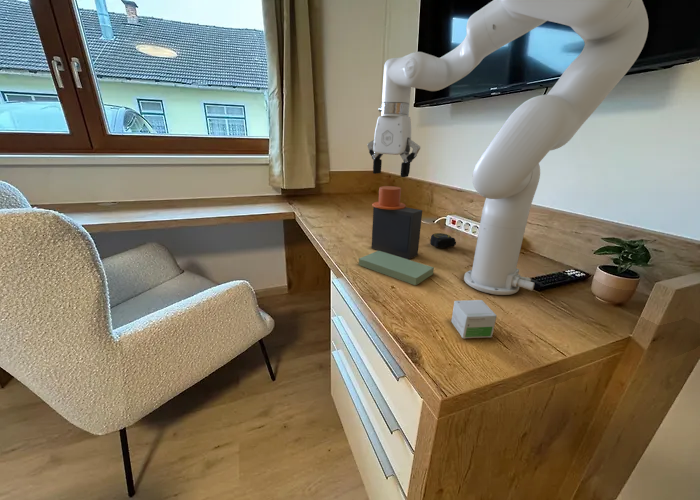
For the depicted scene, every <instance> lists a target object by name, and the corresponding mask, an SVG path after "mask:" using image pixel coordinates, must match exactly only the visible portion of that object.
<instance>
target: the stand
mask: <svg viewBox="0 0 700 500" xmlns="http://www.w3.org/2000/svg"><path fill="white" fill-rule="evenodd" d="M358 266H360V267H363V268H365V269H369V270H371V271H373V272H377V273H380V274H382V275H385V276H388V277H391V278H394V279H396V280H399V281H402V282H405V283H408V284H411V285H413V286H417V285H419V284H421V283H423V282H424V281H425V280H426V279H429V278H430V277H431V276H433V275H434V269H435V267H434V266H430V265H428V264H424V263H420V262H417V261H414V260H411V259H405V258H402V257H399V256H396V255H392V254H389V253H386V252H382V251H379V250H376V251H374V252H371V253H369V254H367V255H364V256H361V257H359V258H358Z"/></svg>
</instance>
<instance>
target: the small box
mask: <svg viewBox="0 0 700 500" xmlns="http://www.w3.org/2000/svg"><path fill="white" fill-rule="evenodd" d="M451 314H452V315H451V322H450V323H452V325H453V327H454V328H455V329H456V331H457V332H458V334H459V335H460V337H461V338H462V339H464V340H465V339H480V338H481V339H482V338H493V335H494V334H493V333H494V330H495V324H496V321H497V314H496V313H495V312H494V310H492V309H491V308H490V307H489V305H488V304H487V303H485V302H484V300H483V299H472V300H471V299H468V300H466V299H465V300H454V301H453V308H452V313H451Z"/></svg>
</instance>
